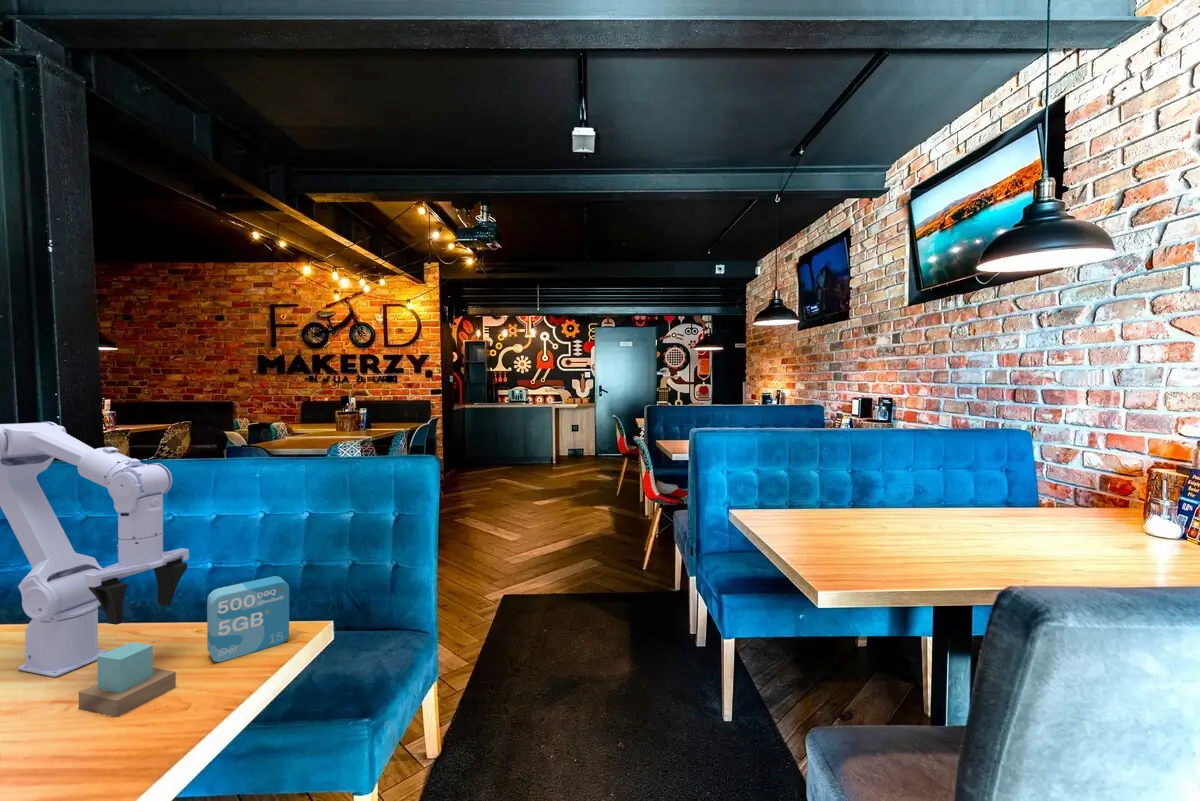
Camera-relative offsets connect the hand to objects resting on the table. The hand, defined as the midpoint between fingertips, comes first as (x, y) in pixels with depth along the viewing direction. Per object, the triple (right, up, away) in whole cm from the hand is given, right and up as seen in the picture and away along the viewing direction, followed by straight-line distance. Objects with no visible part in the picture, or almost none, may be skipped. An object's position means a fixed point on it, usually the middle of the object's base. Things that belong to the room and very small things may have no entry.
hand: (140, 613), depth 87 cm
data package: (+14, -10, +7) cm, 18 cm away
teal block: (+6, -7, -9) cm, 13 cm away
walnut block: (+6, -10, -9) cm, 14 cm away
